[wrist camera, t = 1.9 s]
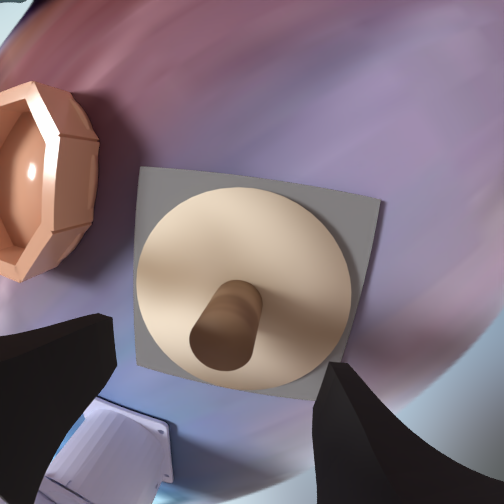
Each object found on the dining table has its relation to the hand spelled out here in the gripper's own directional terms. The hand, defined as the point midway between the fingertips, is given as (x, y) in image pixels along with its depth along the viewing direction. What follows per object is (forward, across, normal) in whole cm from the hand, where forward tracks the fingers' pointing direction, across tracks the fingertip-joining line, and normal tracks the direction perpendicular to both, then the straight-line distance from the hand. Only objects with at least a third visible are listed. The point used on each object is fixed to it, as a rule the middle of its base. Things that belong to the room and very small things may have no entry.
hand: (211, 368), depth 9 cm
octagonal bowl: (+7, +15, -5) cm, 17 cm away
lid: (+6, 0, 0) cm, 6 cm away
